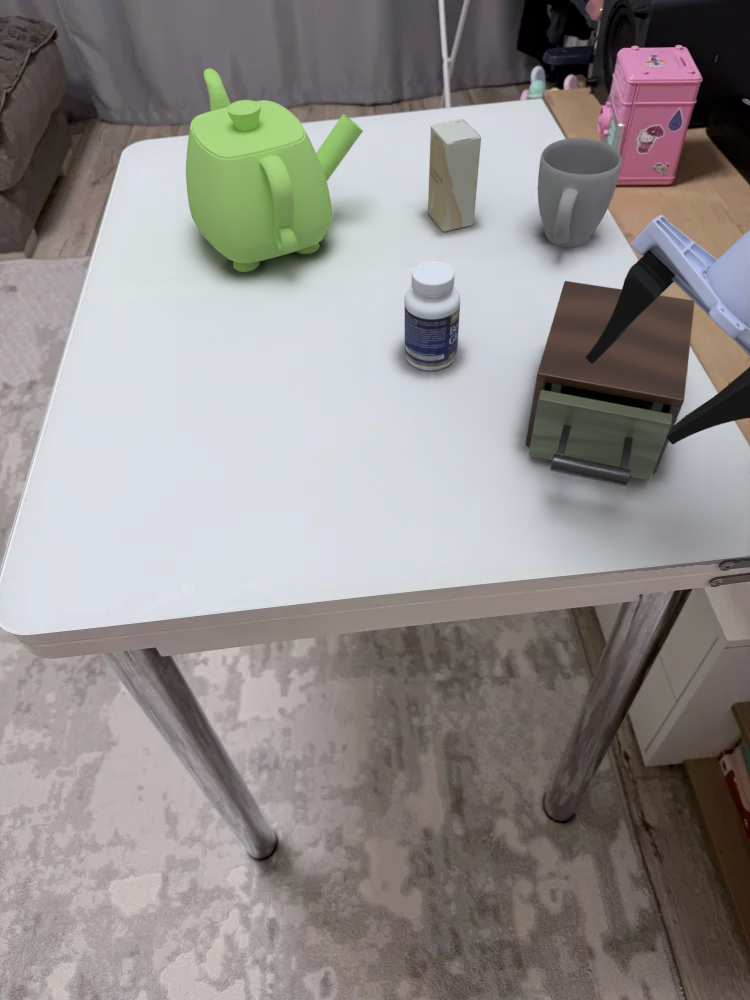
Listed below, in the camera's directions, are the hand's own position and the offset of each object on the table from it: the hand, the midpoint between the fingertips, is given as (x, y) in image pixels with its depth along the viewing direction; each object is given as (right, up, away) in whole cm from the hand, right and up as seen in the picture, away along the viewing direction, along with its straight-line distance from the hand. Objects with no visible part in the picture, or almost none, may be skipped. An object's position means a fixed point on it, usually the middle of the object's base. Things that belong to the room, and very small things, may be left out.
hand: (632, 395), depth 51 cm
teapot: (-29, +27, +42) cm, 58 cm away
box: (-8, +28, +42) cm, 51 cm away
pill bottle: (-12, +8, +25) cm, 29 cm away
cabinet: (+4, +2, +19) cm, 20 cm away
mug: (+5, +24, +38) cm, 45 cm away
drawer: (+2, -2, +16) cm, 16 cm away
